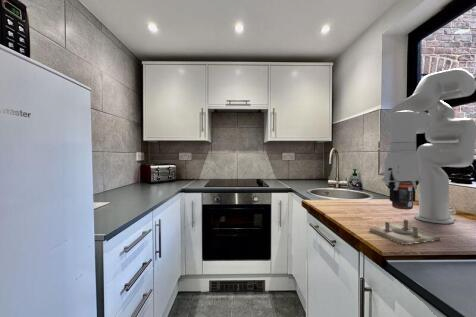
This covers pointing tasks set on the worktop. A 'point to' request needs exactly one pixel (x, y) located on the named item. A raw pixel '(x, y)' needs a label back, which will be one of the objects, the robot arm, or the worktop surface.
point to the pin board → (403, 233)
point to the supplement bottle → (404, 196)
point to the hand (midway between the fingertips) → (402, 200)
